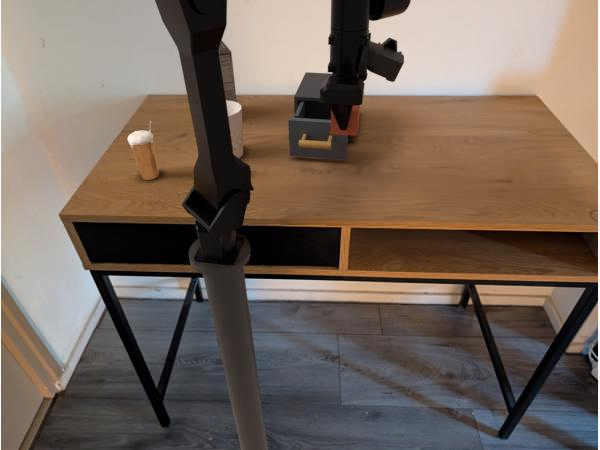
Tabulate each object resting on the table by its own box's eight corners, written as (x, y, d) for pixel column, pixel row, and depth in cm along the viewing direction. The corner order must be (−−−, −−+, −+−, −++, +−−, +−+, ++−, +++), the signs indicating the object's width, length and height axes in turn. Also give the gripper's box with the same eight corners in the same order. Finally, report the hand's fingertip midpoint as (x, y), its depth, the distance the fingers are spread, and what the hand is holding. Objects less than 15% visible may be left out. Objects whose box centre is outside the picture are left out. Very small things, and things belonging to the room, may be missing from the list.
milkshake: (170, 171, 85) (159, 124, 78) (150, 184, 81) (137, 136, 75) (154, 165, 86) (141, 118, 80) (133, 178, 83) (119, 130, 77)
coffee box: (205, 110, 107) (194, 42, 97) (230, 106, 109) (222, 39, 99) (212, 125, 100) (201, 54, 90) (239, 121, 102) (231, 50, 92)
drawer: (344, 171, 82) (346, 133, 77) (285, 166, 84) (283, 129, 79) (351, 129, 96) (353, 95, 91) (301, 126, 97) (300, 93, 92)
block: (356, 135, 73) (358, 111, 70) (330, 134, 73) (331, 109, 71) (358, 124, 76) (360, 100, 73) (333, 122, 77) (334, 99, 74)
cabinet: (352, 142, 93) (355, 99, 87) (295, 138, 95) (293, 96, 89) (357, 114, 104) (360, 74, 98) (305, 111, 106) (305, 72, 100)
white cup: (252, 157, 89) (248, 111, 82) (216, 167, 85) (209, 120, 79) (237, 141, 94) (232, 97, 88) (202, 151, 91) (194, 105, 85)
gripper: (404, 47, 56) (391, 153, 66) (404, 12, 70) (393, 104, 80) (319, 44, 58) (318, 148, 67) (336, 11, 72) (333, 101, 82)
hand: (344, 123), depth 74 cm, fingers closed on block, 4 cm apart
